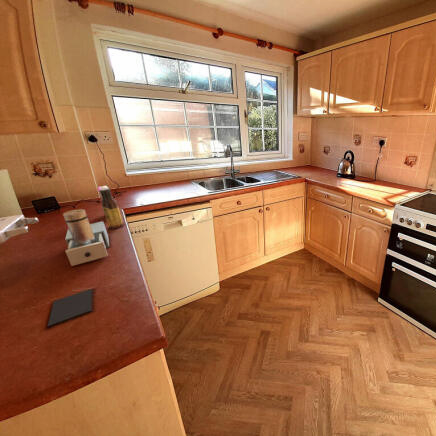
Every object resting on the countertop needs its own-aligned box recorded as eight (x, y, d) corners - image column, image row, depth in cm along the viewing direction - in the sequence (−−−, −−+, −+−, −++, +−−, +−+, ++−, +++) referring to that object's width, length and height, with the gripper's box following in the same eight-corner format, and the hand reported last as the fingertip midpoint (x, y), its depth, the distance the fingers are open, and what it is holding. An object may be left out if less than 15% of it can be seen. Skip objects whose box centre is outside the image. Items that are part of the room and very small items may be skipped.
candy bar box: (106, 214, 142) (96, 186, 135) (116, 212, 145) (107, 185, 138) (107, 219, 134) (97, 190, 127) (118, 217, 136) (109, 188, 130)
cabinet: (109, 247, 103) (103, 230, 100) (72, 256, 97) (65, 239, 94) (108, 236, 113) (103, 221, 110) (74, 244, 106) (68, 228, 104)
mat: (48, 327, 63) (47, 326, 63) (54, 302, 72) (53, 301, 72) (91, 311, 68) (91, 310, 68) (92, 289, 77) (91, 288, 77)
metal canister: (79, 258, 92) (61, 216, 85) (80, 251, 96) (63, 211, 90) (99, 252, 95) (84, 212, 89) (99, 246, 100) (85, 208, 93)
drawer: (108, 257, 94) (103, 243, 91) (71, 267, 88) (64, 252, 85) (107, 244, 104) (102, 231, 102) (73, 252, 98) (68, 239, 96)
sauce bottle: (108, 226, 124) (95, 188, 117) (123, 223, 128) (111, 186, 120) (110, 230, 120) (96, 191, 112) (124, 226, 123) (112, 188, 116)
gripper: (-4, 231, 89) (46, 222, 95) (-38, 256, 72) (25, 244, 78) (-13, 215, 86) (39, 207, 92) (-50, 237, 70) (16, 226, 76)
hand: (32, 224), depth 85 cm, fingers open, 8 cm apart
